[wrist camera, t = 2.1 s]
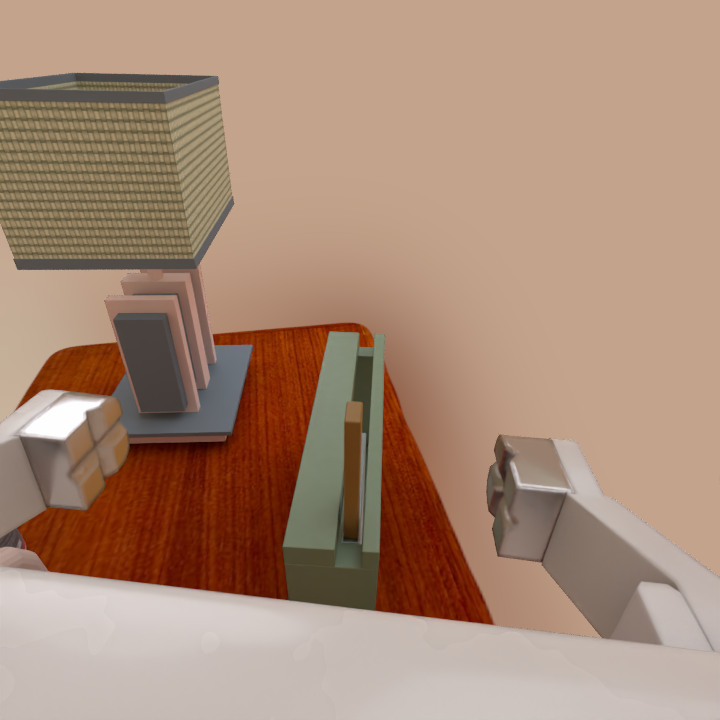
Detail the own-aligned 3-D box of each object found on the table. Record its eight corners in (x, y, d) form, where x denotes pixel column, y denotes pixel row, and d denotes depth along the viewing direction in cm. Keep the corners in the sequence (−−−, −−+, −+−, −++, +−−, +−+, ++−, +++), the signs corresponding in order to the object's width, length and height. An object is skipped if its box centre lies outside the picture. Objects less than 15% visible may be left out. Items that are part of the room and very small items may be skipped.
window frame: (378, 447, 50) (384, 333, 42) (370, 678, 32) (379, 552, 24) (331, 444, 50) (329, 331, 42) (296, 673, 32) (282, 546, 24)
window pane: (362, 526, 40) (370, 327, 29) (356, 638, 32) (363, 426, 22) (351, 525, 40) (354, 326, 29) (341, 637, 32) (341, 425, 22)
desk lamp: (148, 358, 63) (70, 72, 45) (255, 357, 64) (220, 76, 46) (91, 458, 48) (-62, 87, 30) (232, 455, 49) (168, 91, 31)
